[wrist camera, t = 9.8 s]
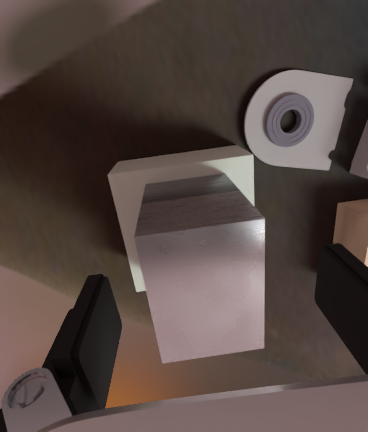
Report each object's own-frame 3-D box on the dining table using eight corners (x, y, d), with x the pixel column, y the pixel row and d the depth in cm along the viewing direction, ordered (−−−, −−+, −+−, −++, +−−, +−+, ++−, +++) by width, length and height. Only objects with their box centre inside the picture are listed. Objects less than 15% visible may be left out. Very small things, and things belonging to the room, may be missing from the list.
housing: (230, 265, 19) (264, 348, 13) (162, 275, 19) (162, 363, 13) (224, 173, 16) (264, 218, 10) (145, 184, 16) (134, 236, 10)
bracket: (251, 64, 18) (270, 56, 15) (382, 84, 19) (426, 80, 16) (233, 159, 20) (246, 169, 17) (350, 172, 22) (383, 183, 18)
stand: (236, 145, 20) (253, 154, 16) (240, 247, 23) (255, 274, 20) (118, 161, 19) (107, 174, 16) (140, 261, 23) (136, 291, 19)
